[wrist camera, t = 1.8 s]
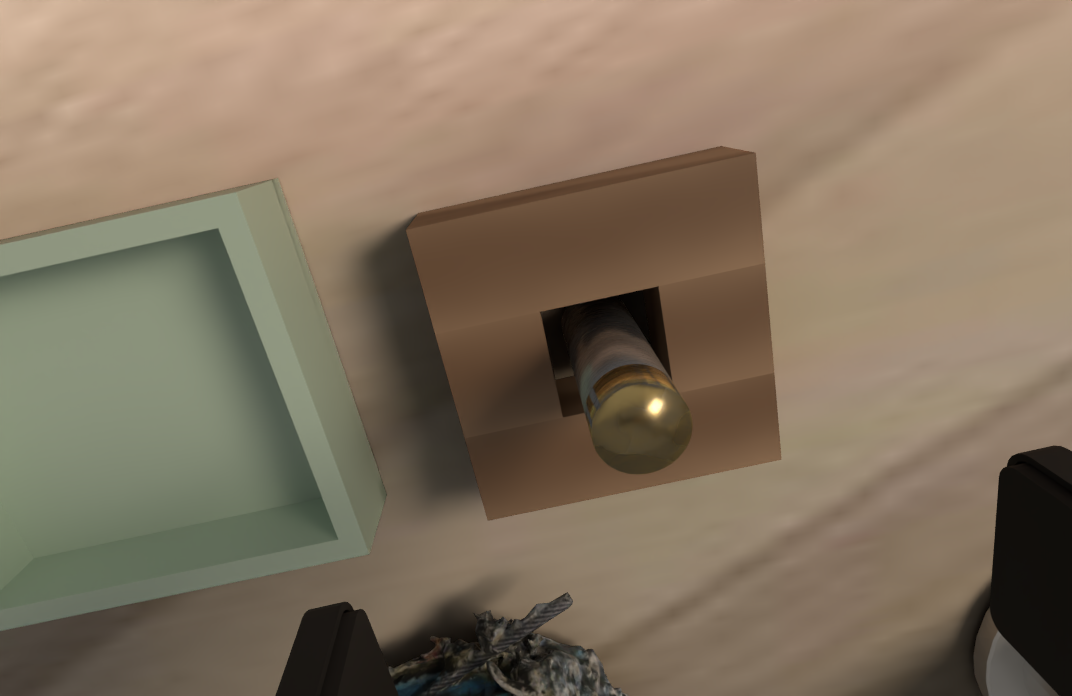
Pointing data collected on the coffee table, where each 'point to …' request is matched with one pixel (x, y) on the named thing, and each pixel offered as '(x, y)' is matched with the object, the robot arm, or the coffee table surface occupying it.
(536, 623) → the pulley block
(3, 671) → the coffee table surface
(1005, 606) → the robot arm
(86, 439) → the tray
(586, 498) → the block
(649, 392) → the pin
